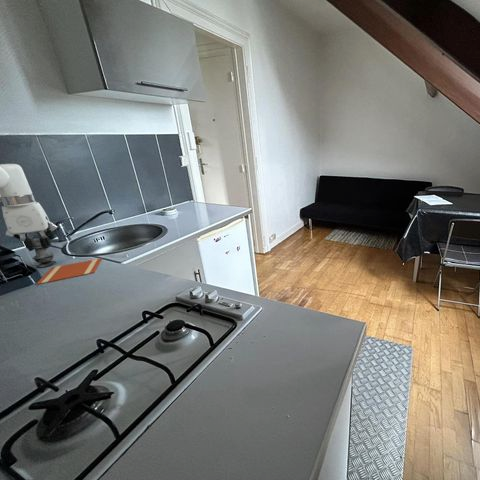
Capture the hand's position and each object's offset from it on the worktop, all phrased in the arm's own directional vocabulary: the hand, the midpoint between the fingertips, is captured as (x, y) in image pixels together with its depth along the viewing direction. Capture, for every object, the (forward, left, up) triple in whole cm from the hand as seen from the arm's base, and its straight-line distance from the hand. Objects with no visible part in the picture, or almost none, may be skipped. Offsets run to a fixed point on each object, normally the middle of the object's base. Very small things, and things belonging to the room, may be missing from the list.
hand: (40, 248), depth 98 cm
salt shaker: (0, 0, -7) cm, 7 cm away
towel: (+10, -13, -7) cm, 18 cm away
